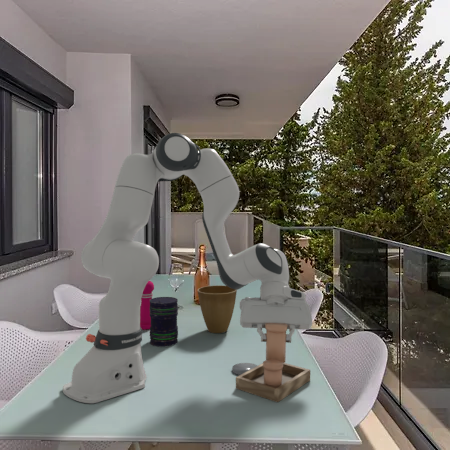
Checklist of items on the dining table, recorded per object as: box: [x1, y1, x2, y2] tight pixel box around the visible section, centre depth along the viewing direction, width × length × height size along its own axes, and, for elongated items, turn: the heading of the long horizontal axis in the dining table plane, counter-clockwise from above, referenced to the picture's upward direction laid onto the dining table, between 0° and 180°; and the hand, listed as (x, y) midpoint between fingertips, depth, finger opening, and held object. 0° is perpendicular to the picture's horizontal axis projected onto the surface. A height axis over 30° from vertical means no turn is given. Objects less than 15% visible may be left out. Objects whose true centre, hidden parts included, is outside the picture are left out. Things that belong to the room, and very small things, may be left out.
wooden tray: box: [235, 362, 311, 403], centre depth 121 cm, size 17×13×3 cm
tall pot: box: [264, 323, 288, 363], centre depth 122 cm, size 6×6×10 cm
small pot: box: [262, 359, 283, 388], centre depth 115 cm, size 5×5×7 cm
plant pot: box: [197, 284, 238, 334], centre depth 169 cm, size 15×15×16 cm
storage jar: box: [149, 296, 179, 348], centre depth 155 cm, size 10×10×15 cm
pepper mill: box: [140, 280, 155, 331], centre depth 173 cm, size 7×7×20 cm
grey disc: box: [231, 362, 258, 376], centre depth 130 cm, size 8×8×1 cm
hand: (276, 341), depth 122 cm, fingers closed on tall pot, 5 cm apart
